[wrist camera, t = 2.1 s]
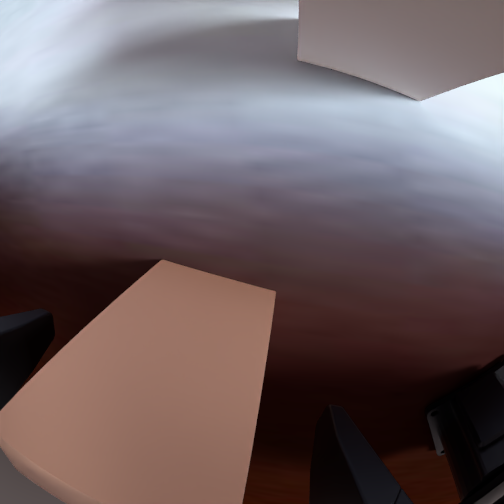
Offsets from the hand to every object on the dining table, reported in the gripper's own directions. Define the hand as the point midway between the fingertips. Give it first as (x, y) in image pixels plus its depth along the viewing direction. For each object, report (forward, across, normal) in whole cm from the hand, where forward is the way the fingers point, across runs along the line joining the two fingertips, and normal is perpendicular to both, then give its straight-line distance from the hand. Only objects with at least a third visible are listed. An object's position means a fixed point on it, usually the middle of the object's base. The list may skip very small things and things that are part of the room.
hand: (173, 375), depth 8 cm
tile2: (+5, -3, -11) cm, 13 cm away
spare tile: (+5, 0, 0) cm, 5 cm away
